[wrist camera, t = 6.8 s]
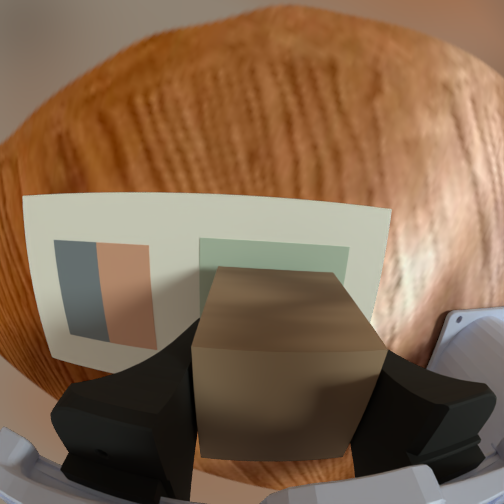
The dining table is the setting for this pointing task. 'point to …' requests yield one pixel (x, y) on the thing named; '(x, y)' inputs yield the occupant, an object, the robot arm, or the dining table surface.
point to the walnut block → (281, 366)
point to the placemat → (177, 261)
